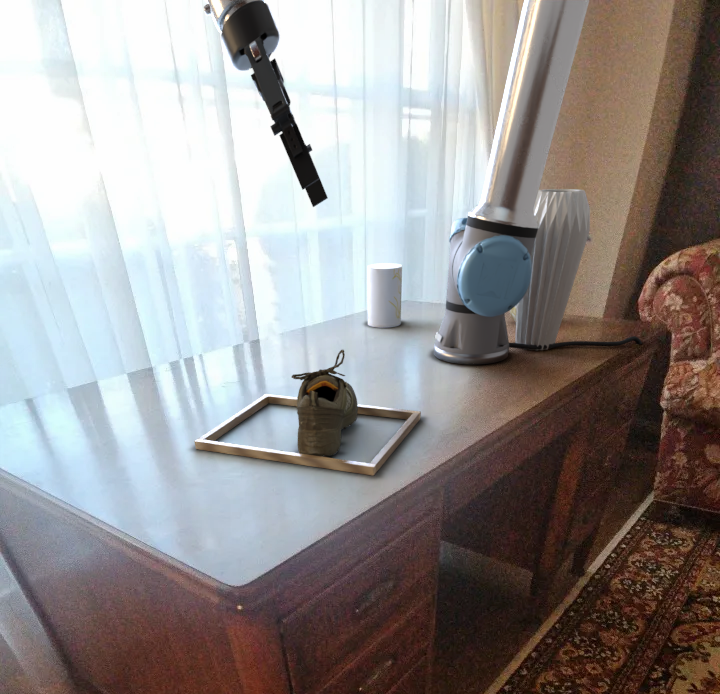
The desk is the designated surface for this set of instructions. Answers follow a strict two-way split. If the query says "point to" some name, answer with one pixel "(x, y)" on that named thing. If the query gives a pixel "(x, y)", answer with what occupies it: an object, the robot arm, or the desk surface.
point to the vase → (552, 264)
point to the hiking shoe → (324, 410)
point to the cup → (384, 294)
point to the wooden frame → (371, 468)
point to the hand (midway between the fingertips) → (316, 194)
